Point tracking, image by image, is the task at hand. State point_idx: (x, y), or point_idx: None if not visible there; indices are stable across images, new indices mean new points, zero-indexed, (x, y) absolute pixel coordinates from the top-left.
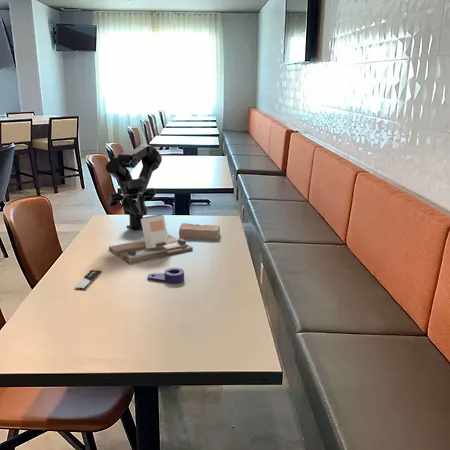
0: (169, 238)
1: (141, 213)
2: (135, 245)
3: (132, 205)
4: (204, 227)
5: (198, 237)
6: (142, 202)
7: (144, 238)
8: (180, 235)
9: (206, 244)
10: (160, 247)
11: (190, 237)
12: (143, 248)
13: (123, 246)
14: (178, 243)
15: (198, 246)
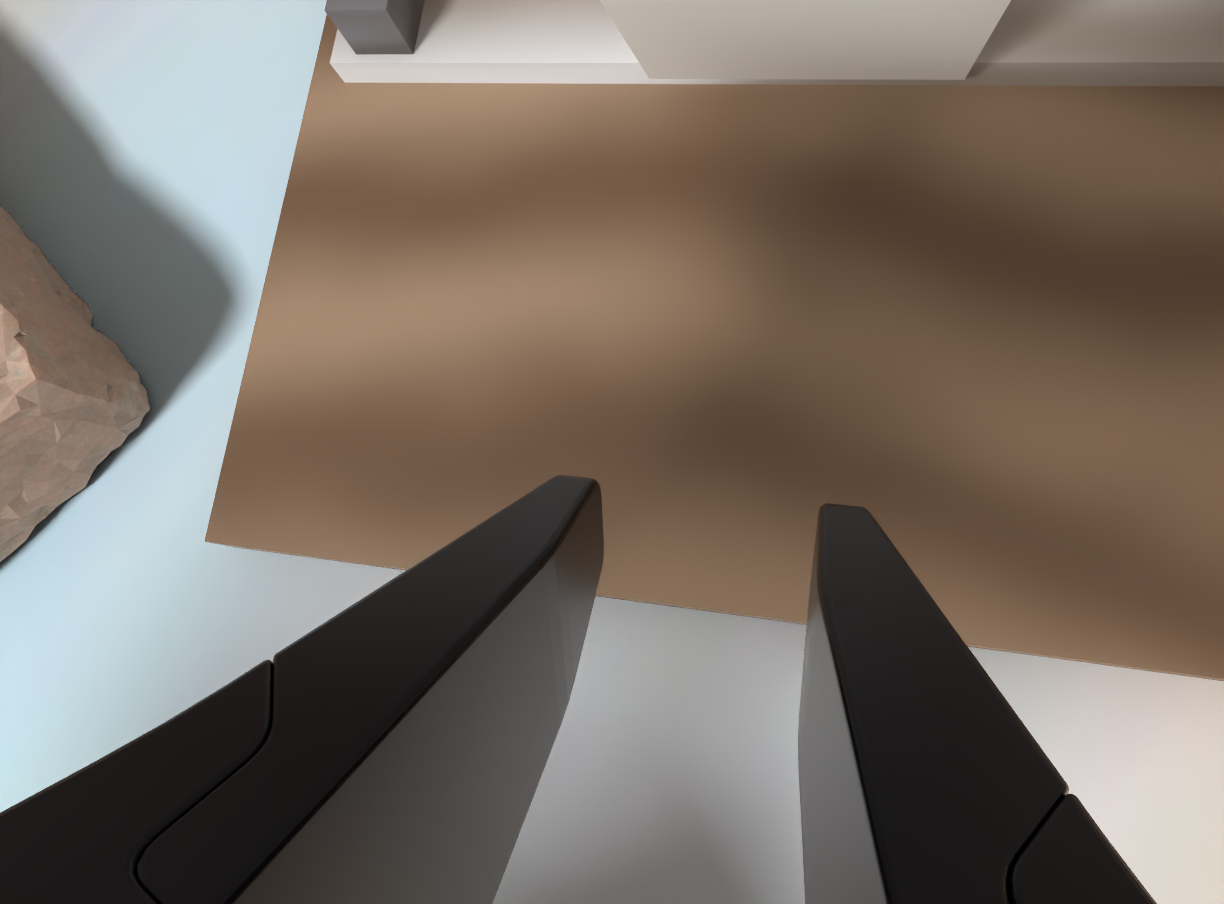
0: (320, 377)
1: (588, 543)
2: (965, 430)
3: (1010, 897)
4: None
5: (7, 220)
6: (56, 815)
7: (1003, 7)
8: (121, 381)
9: (115, 22)
10: None
11: (66, 292)
12: (931, 222)
13: (1193, 520)
14: (423, 32)
15: (228, 15)
